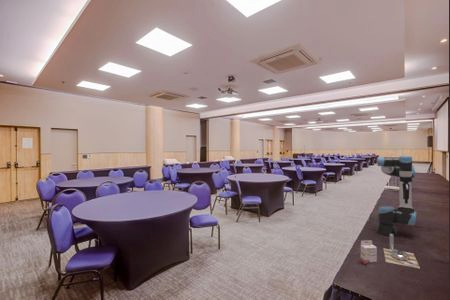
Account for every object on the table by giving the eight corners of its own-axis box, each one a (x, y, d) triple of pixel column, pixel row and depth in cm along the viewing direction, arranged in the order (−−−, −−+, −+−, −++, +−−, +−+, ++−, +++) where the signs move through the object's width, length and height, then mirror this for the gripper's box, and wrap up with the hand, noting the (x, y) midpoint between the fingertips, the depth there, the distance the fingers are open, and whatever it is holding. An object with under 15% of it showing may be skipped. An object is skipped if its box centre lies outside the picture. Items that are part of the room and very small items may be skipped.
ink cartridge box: (365, 264, 156) (364, 243, 156) (360, 261, 161) (360, 240, 161) (377, 264, 157) (377, 242, 156) (372, 260, 161) (372, 239, 161)
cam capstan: (384, 251, 169) (383, 234, 168) (396, 250, 170) (396, 233, 169) (404, 263, 152) (404, 244, 152) (418, 262, 153) (417, 242, 153)
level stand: (383, 250, 175) (383, 247, 175) (413, 255, 166) (413, 252, 166) (386, 263, 156) (385, 261, 156) (420, 270, 147) (420, 267, 147)
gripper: (413, 177, 166) (414, 210, 167) (410, 175, 177) (410, 205, 178) (400, 177, 169) (401, 209, 170) (398, 174, 181) (398, 204, 182)
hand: (406, 207), depth 174 cm, fingers closed
